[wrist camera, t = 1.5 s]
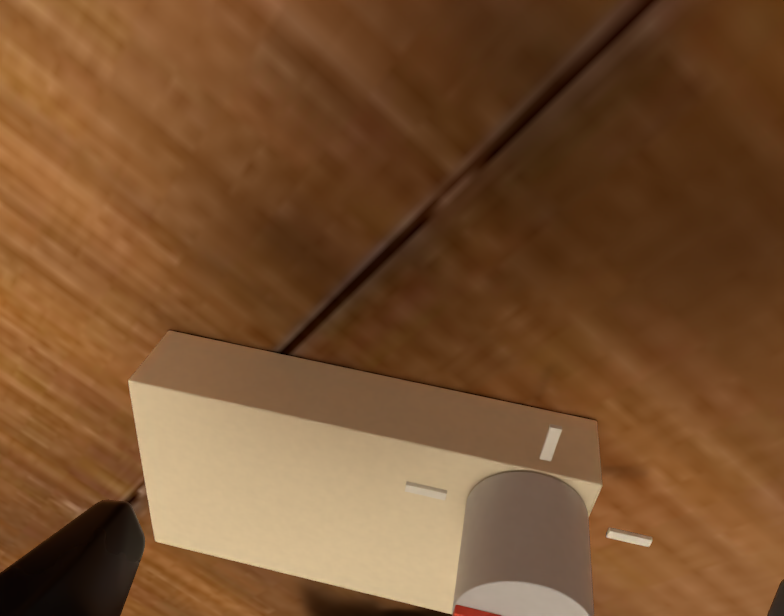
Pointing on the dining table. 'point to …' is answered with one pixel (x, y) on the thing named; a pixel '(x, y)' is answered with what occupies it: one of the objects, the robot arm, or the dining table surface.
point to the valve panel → (334, 465)
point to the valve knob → (524, 549)
